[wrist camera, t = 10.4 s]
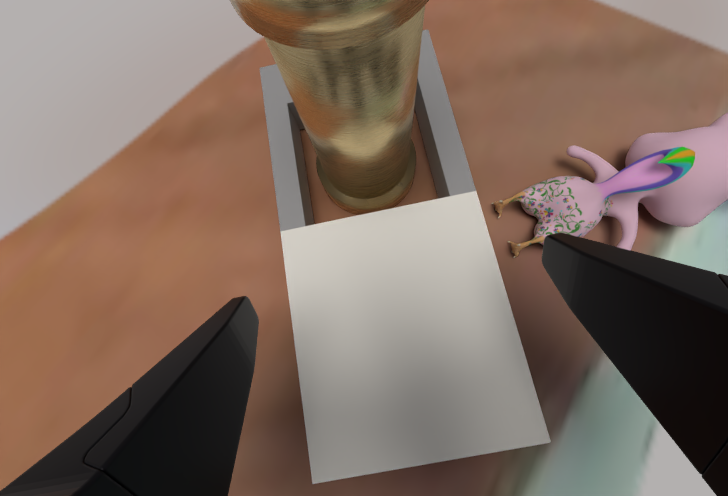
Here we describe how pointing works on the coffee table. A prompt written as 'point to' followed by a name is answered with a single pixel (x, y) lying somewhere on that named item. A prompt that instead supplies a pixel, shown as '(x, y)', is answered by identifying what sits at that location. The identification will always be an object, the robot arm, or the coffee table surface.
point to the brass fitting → (350, 88)
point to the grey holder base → (399, 310)
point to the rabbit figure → (634, 186)
